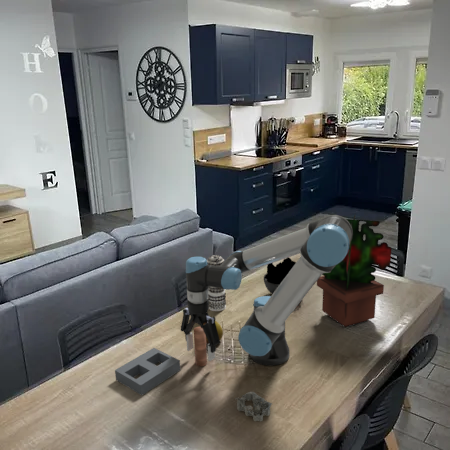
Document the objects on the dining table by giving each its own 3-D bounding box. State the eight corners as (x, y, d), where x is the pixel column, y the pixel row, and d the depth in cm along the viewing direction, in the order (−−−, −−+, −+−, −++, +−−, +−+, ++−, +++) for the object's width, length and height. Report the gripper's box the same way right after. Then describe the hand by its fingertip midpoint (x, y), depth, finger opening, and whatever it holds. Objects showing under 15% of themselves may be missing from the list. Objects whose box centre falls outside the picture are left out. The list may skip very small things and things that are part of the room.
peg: (209, 362, 170) (208, 328, 166) (201, 367, 167) (199, 333, 163) (200, 358, 173) (199, 325, 169) (192, 363, 169) (190, 330, 165)
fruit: (226, 337, 186) (225, 311, 183) (216, 349, 179) (215, 321, 175) (207, 333, 190) (206, 307, 187) (197, 344, 182) (195, 317, 179)
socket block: (180, 370, 166) (179, 360, 165) (141, 395, 152) (140, 385, 151) (154, 356, 174) (153, 347, 173) (115, 379, 161) (114, 370, 160)
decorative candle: (229, 303, 216) (228, 254, 208) (223, 312, 207) (221, 261, 200) (211, 301, 219) (209, 252, 211) (204, 310, 210) (202, 259, 203)
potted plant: (343, 335, 185) (348, 230, 172) (311, 313, 204) (314, 216, 192) (385, 323, 193) (393, 222, 181) (351, 302, 213) (356, 209, 200)
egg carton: (233, 408, 146) (233, 397, 144) (250, 397, 150) (249, 387, 149) (257, 425, 138) (256, 414, 137) (274, 413, 143) (274, 402, 141)
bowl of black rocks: (311, 293, 224) (312, 257, 219) (294, 309, 208) (295, 271, 203) (274, 284, 235) (275, 250, 229) (256, 300, 219) (255, 263, 213)
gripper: (168, 295, 167) (172, 348, 173) (214, 312, 152) (217, 369, 159) (182, 288, 172) (186, 340, 178) (229, 304, 158) (230, 360, 164)
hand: (200, 354), depth 169 cm, fingers open, 10 cm apart
